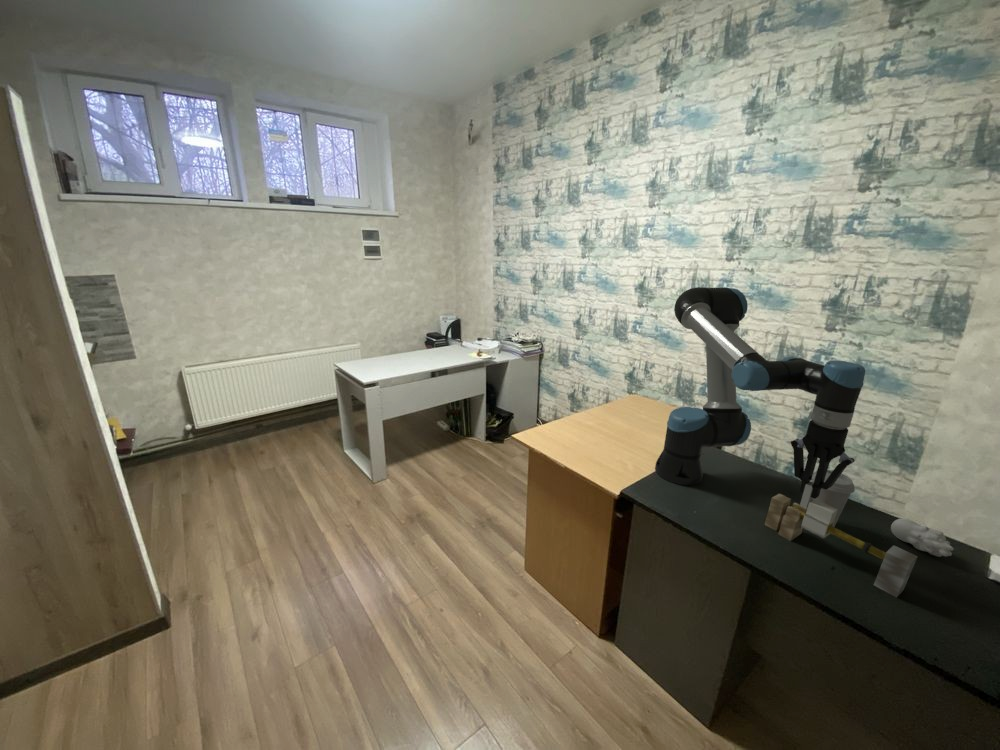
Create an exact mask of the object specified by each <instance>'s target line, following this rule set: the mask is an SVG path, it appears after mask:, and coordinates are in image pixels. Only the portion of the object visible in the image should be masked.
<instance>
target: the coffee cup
mask: <svg viewBox="0 0 1000 750" xmlns="http://www.w3.org/2000/svg"><path fill="white" fill-rule="evenodd" d="M832 472H833V470H831V469H828V470H827V473H826V476H825V480H824V482H825V481H826V480H827V478H828V477H829V476H830V474H831V473H832ZM816 473H817V470H816V471H814V472H813V476H812V480H811V482H813V483H814V480H815V477H816ZM855 490H856V489H855V485H854V482H853V480H852V478H850V477H849V476H847V475H846V474H843V473H841V475H840V476H839V477H838V479H837V480H836V482H835V483H834V484H833V486H832V487H830V488H828V489H823V488H821V491H820V494H819V497H817V498H816V500H818V501H820V502H822V503H825V504H827V505H829V506H831V507H833V508H836V509H838V511H837V514H836V517H835V522H834V525H833V527H834V528H836V524H838V520H839V518H840V517H841V515H842V512H843V511H844V508H845V506H846V505H847V504H846V503H848V500H849V498H850V496H851V494H852V493H854V492H855ZM813 500H814V498H813Z"/></svg>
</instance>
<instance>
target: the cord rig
mask: <svg viewBox="0 0 1000 750" xmlns="http://www.w3.org/2000/svg"><path fill="white" fill-rule="evenodd" d="M791 502H792V498H790V497H787V496H786V495H784V494H782V493H777V494H776V495H774V496H772V497H771V500H770V504H769V507H768V511H767V514H766V517H765V522H764V525H765V526H766V527H768V528H770V529H772V530H774V531H775V532H777V531H778V535H779V536H780V537H782V538H784V539H786V540H788V541H790V542H791V541H793V540H794V539H796V538H798V536H800V535H801V534H802V532H803V530H804V528H802V527H801V525H802V522H803V518H804V515H805V513H806V511H807V509H805V508H803V507H801V506H800V503H797V502H793V503H792V506H790V504H791ZM827 532H828V533H830V534H829V535H833V536H834V537H836V538H838V539H840V540H843V541H845V542H846V543H848V544H850V545H853V546H854V547H857V548H859V549H860V550H861V551H862V552H863V553H866V554H867V555H868V554H871V555H873V556H875V557H877V558H879V559H880V560H882V562H881V564H880V568H879V570H878V571H877V572H878V573H877V576H876V578H875V580H874V583H873V586H875V588H878V589H880V590H882V591H883V592H885V593H886V594H889V595H890V596H893V597H894V598H896V599H897V598H898V597H899V596H900V595H901V594H902V592H903V591H904V590H905V588H906V585H907V583H908V580H909V577H910V576H911V573H912V571H913V568H914V566H915V565H916V562H917V559H918V555H916V554H913V553H911V552H909V551H907V550H905V549H903V548H900V547H899V546H896V545H892V546H891V547H890V548H889V549H888V550H887V551H886V552H885V551H884V550H881V549H879V548H877V547H875V546H873V544H872V543H870V542H868V541H864V540H863V541H862V540H861V539H859V538H856V537H854V536H853V535H851V534H849V533H847V532H845V531H842V530H841V529H838V528H836V527H832V526H830V525H829V526H828V529H827Z"/></svg>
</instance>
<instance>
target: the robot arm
mask: <svg viewBox="0 0 1000 750" xmlns="http://www.w3.org/2000/svg"><path fill="white" fill-rule="evenodd" d="M747 312H748V300H747V298H746V296H745V294H744V293H743V292H742V291H741V290H739V289H737V288H735V287H731V288H730V287H726V286H724V287H700V286H699V287H691V288H689V289H686V290H685V291H684V292H682V293H681V294H680V295H679V296H678V298H677V299H676V301H675V304H674V317H676V320H677V321H678V323H680V325H681V326H683V328H685V329H686V330H691V331H692V332H693V334H695V335H696V336H697V337H699V339H700V340H701V341H702V342H703V343H704V344H705V354H706V356H705V357H706V358H705V359H706V389H707V391H706V393H707V402H706V403H704V405H703V406H702V408H700V407H695V406H694V407H691V406H683V407H682V406H681V407H677V408H675V409H673V410H672V411H671V412H670V413H669V416H668V420H667V422H666V426H667V427H666V432H665V439H664V445H663V449H662V451H661V453H660V454H659V456H658V458H657V460H656V462H655V466H654V470H655V472H656V474H657V475H658V476H659V477H661V479H664V480H666V481H668V482H670V483H673V484H677V485H680V486H681V485H683V486H695V485H698V484H700V483H701V482H702V481H703V476H704V471H703V465H702V459H701V456H702V451H703V448H711V447H712V448H713V447H733V446H739V445H742V444H744V443H745V442H746V441H747V440H748V439H749V437H750V435H751V430H752V423H751V420H750V418H749V416H748V414H747V413H746V412H744V411H743V407H742V405H740V404H739V403H738V401H737V389H739V390H742V391H750V392H759V391H760V392H761V391H773V390H774V391H776V390H777V391H778V390H779V391H780V390H799V391H800V390H801V391H804V392H807V393H810V394H813V395H815V400H814V404H813V408H812V411H811V415H810V419H811V420H809V422H808V426H807V429H806V434H805V435H804V436H803V437H802V438H801V439H800V438H796V439H794V440H791V441H790V445H791V447H792V449H793V470H794V471H793V472H794V474H793V475H794V477H795V478H797V479H799V480H800V482H801V484H800V487H799V493H801V494H802V495H801V500H800V503H799V505H800V506H801V507H803V508H805V509H807V508H808V505H809V502H811V501H812V500H813V498H814V499H816V498H817V497H819V494H820V491H821V488H823V489H828V488H830V487H832V486H833V484H834V483H835V482H836V480H837V479H838V477H839V476H840V475H841V474H843V472H844V471H845V470H846V468H847V467H848V466H850V465H851V464H853V463H855V462H856V460H855V459H854V458H853V457H849V455H847V453H846V452H845V451H846V449H845V442H846V441H847V437H848V433H849V429H848V428H849V427H851V424H852V419H853V417H854V413H855V409H856V405H857V401H858V399H859V396H860V394H861V391H862V389H863V387H864V381H865V375H866V368H865V367H864V366H863V365H861V364H859V363H855V362H850V361H846V360H844V361H843V360H828V361H827V362H825V364H824V365H823V364H820V363H816V362H814V361H813V362H812V361H809V360H808V359H807V360H806V359H805V358H801V357H793V356H785V357H784V358H782V359H780V360H767V359H766V358H764V356H762V355H761V354H760V353H759V352H757V351H756V350H755V349H754V348H753V347H752V346H750V344H748V343H747V342H746V341H745V340H743V338H742V337H740V335H738V334H737V333H736V332H735V331H736V330H737V329H738V328H739V327H740V321H742V320H743V319H744V318H745V317H746V314H747ZM804 448H805V449H806V451H807V453H808V454H807V457H806V459H807V460H806V463H805V459H804V458H805V457H804ZM837 457H839V459H838V462H839V463H838V464H837V465H836V466H835V467H834V469H833V470H832V471H833V472H832V473H831V474H830V476H829V477H828V478H827V480H826V481H825V482H824V480H825V476H826V473H827V470H829V466H830V463H831V462H832V460H833V459H836V458H837ZM818 459H819V461H818ZM817 461H818V467H817V470H816V471H817V473H816V477H815V480H814V483H813V482H812V476H813V473H815V468H816V464H817Z"/></svg>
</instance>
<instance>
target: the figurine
mask: <svg viewBox="0 0 1000 750" xmlns="http://www.w3.org/2000/svg"><path fill="white" fill-rule="evenodd" d="M890 531H891V533H892V534H893V535H894V537H896V538H897V539H899V540H901V541H902V542H905V543H909V544H911V545H912V546H913V548H915V549H916V550H918V551H922V552H927V553H928V554H929V555H932V556H935V557H939V558H941V557H952V555H953V551H954V550H955V549H954V547H953V546H951V542H950V541H948V540H947V537H946V535H944V532H943V531H942V530H939V529H934V528H931V527H928V526H926V525H921V524H919V523H917V522H916V521H914V520H911V519H908V518H898V519H895V520H894V521H893V522H892V524H891V525H890Z"/></svg>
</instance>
